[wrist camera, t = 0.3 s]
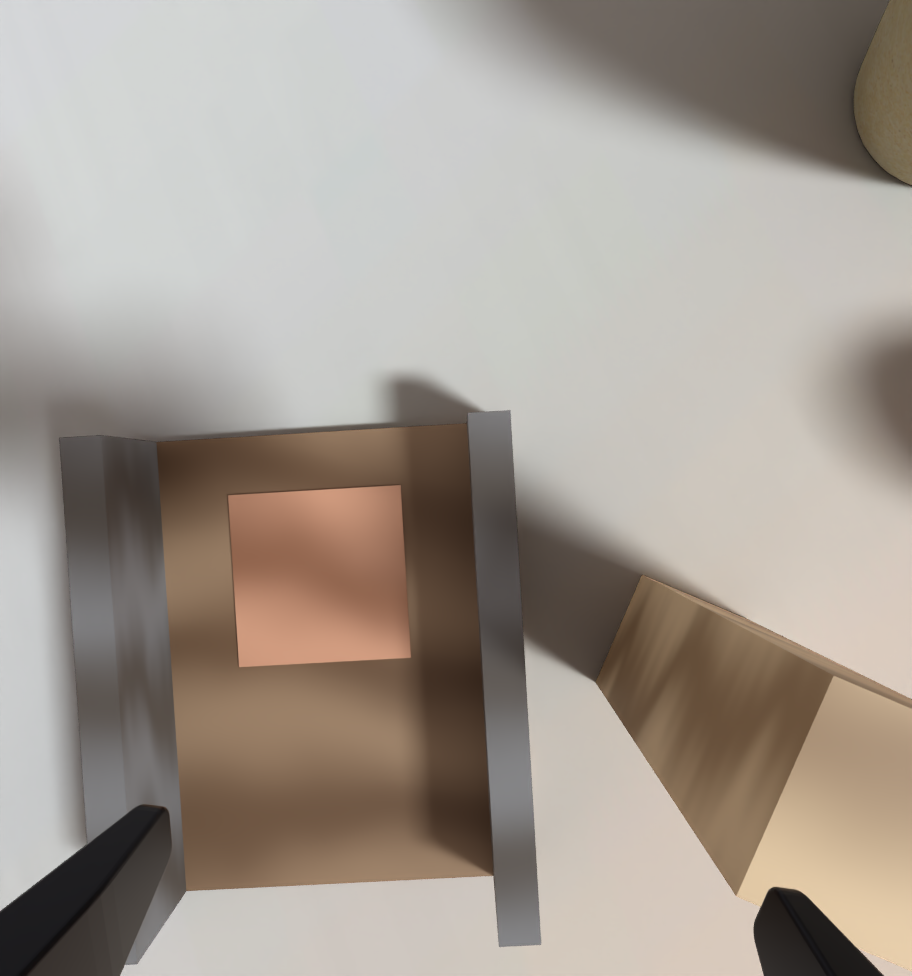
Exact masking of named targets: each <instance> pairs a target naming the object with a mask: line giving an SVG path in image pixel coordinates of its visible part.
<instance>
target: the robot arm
mask: <svg viewBox="0 0 912 976" xmlns="http://www.w3.org/2000/svg"><path fill="white" fill-rule="evenodd" d="M171 850H172V838H171V826H170V814H169V811H168V809H167V808H166V807H164V806H157V805H149V804H141V805H139V806H137V807H135V808H133V809H132V810H131V811H129V812H128V813H127V814H125V815H124V816H123V817H121V818H120V819H119V820H118V821H116V822H115V823H114V824H112V825H111V826H110V827H109V828H107V829H106V830H105V831H103V832H102V833H101V834H99V835H98V836H97V837H96V838H94V839H93V840H92V841H90V842H89V843H88V844H87V845H85V846H84V847H83V848H81V849H80V850H79V851H77V852H76V853H75V854H74V855H72V856H71V857H70V858H68V859H67V860H66V861H64V862H63V863H62V864H61V865H59V866H58V867H57V868H55V869H54V870H53V871H52V872H50V873H49V874H48V875H46V876H45V877H44V878H42V879H41V880H40V881H39V882H37V883H36V884H35V885H33V886H32V887H31V888H29V889H28V890H27V891H26V892H24V893H23V894H22V895H20V896H19V897H18V898H17V899H15V900H14V901H13V902H11V903H10V904H9V905H7V906H6V907H5V908H4V909H2V910H1V911H0V976H120V974H121V972H122V970H123V968H124V965H125V963H126V961H127V958H128V956H129V954H130V951H131V949H132V947H133V944H134V942H135V940H136V937H137V935H138V933H139V930H140V928H141V926H142V923H143V921H144V918H145V916H146V914H147V911H148V909H149V907H150V904H151V902H152V900H153V897H154V895H155V893H156V890H157V888H158V886H159V883H160V881H161V879H162V876H163V874H164V872H165V869H166V867H167V864H168V862H169V859H170V855H171ZM754 940H755V944H756V948H757V952H758V955H759V959H760V963H761V967H762V971H763V974H764V976H884V975H883V974H882V973H881V972H880V971H879V970H878V969H877V968H876V967H875V966H874V965H873V964H872V963H871V962H870V961H869V960H868V959H867V958H866V957H865V956H864V955H863V954H862V953H861V952H860V951H859V949H858V948H857V947H856V946H855V945H854V944H853V943H852V942H851V941H850V940H849V939H848V938H847V937H846V936H845V935H844V934H843V933H842V932H841V931H840V930H839V929H838V928H837V927H836V926H835V925H834V924H833V923H832V921H831V920H830V919H829V918H828V917H827V916H826V915H825V914H824V913H823V912H822V911H821V910H820V909H819V908H818V907H817V906H816V905H815V904H814V903H813V902H812V901H811V900H810V899H809V898H808V897H807V896H806V895H805V894H804V893H802V892H801V891H799V890H796V889H790V888H782V887H772V888H770V889H769V890H768V892H767V894H766V896H765V898H764V901H763V903H762V905H761V907H760V910H759V912H758V914H757V917H756V919H755V922H754Z"/></svg>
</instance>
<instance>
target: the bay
mask: <svg viewBox="0 0 912 976" xmlns="http://www.w3.org/2000/svg"><path fill="white" fill-rule="evenodd" d="M59 442H60V456H61V471H62V485H63V500H64V514H65V529H66V543H67V558H68V572H69V587H70V601H71V616H72V630H73V644H74V659H75V673H76V688H77V702H78V717H79V731H80V746H81V760H82V775H83V789H84V804H85V818H86V833H87V844H88V843H89V842H90V841H92V840H93V839H94V838H96V837H97V836H98V835H99V834H101V833H102V832H103V831H105V830H106V829H107V828H109V827H110V826H111V825H112V824H114V823H115V822H116V821H118V820H119V819H120V818H121V817H123V816H124V815H125V814H127V813H128V812H129V811H131V810H132V809H133V808H135V807H137V806H139V805H141V804H149V805H157V806H164V807H166V808H167V809H168V811H169V814H170V826H171V838H172V850H171V855H170V859H169V862H168V864H167V867H166V869H165V872H164V874H163V876H162V879H161V881H160V883H159V886H158V888H157V890H156V893H155V895H154V897H153V900H152V902H151V904H150V907H149V909H148V911H147V914H146V916H145V918H144V921H143V923H142V926H141V928H140V930H139V933H138V935H137V937H136V940H135V942H134V944H133V947H132V949H131V951H130V954H129V956H128V958H127V961H126V963H125V965H132V964H138V962H139V961H140V959H141V958H142V956H143V955H144V953H145V952H146V950H147V949H148V947H149V946H150V944H151V943H152V941H153V940H154V938H155V937H156V935H157V934H158V932H159V931H160V929H161V928H162V926H163V925H164V923H165V922H166V921H167V919H168V918H169V916H170V915H171V913H172V912H173V910H174V909H175V907H176V906H177V904H178V903H179V901H180V900H181V898H182V897H183V895H184V894H185V892H186V891H195V890H215V889H235V888H256V887H276V886H296V885H316V884H336V883H356V882H376V881H396V880H416V879H436V878H456V877H476V876H494V889H495V902H496V915H497V928H498V941H499V947H506V946H526V945H541V934H540V916H539V899H538V882H537V864H536V847H535V830H534V812H533V795H532V778H531V760H530V743H529V726H528V708H527V691H526V674H525V656H524V639H523V622H522V604H521V587H520V570H519V552H518V535H517V518H516V501H515V483H514V466H513V449H512V431H511V414H510V410H507V411H490V412H474V413H468V414H467V423H463V424H446V425H430V426H413V427H397V428H380V429H364V430H347V431H331V432H314V433H298V434H281V435H265V436H248V437H231V438H215V439H198V440H182V441H165V442H152V441H144V440H136V439H128V438H120V437H112V436H104V435H96V436H79V437H63V438H59Z"/></svg>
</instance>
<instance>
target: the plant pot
mask: <svg viewBox="0 0 912 976" xmlns="http://www.w3.org/2000/svg"><path fill="white" fill-rule="evenodd" d="M854 115H855V121H856V125H857V130H858V132H859V135H860V137H861V140H862V142H863V144H864V146H865V147H866V149H867V150H868V152H869V153H870V155H871V156H872V157H873V159H874V160H875V161H876V162H877V163H878V164H879V165H880V166H881V167H882V168H883V169H884V170H886V171H887V172H888V173H889V174H891V175H893V176H894V177H896V178H898V179H899V180H901V181H903V182H905V183H907V184H910V185H912V0H890V1H889V3H888V6H887V8H886V10H885V12H884V14H883V16H882V19H881V21H880V23H879V26H878V28H877V30H876V32H875V35H874V37H873V39H872V42H871V44H870V46H869V49H868V51H867V53H866V56H865V58H864V60H863V63H862V65H861V68H860V71H859V73H858V76H857V79H856V84H855V90H854Z"/></svg>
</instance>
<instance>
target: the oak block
mask: <svg viewBox="0 0 912 976" xmlns="http://www.w3.org/2000/svg"><path fill="white" fill-rule="evenodd" d="M596 684H597V685H598V687H599V688H600V690H601V691H602V693H603V694H604V696H605V697H606V699H607V700H608V702H609V703H610V705H611V706H612V708H613V709H614V711H615V713H616V714H617V716H618V717H619V719H620V720H621V722H622V723H623V725H624V726H625V728H626V729H627V731H628V732H629V734H630V735H631V737H632V738H633V740H634V741H635V743H636V744H637V746H638V748H639V749H640V751H641V752H642V754H643V755H644V757H645V758H646V760H647V761H648V763H649V764H650V766H651V767H652V769H653V770H654V772H655V773H656V775H657V776H658V778H659V779H660V781H661V783H662V784H663V786H664V787H665V789H666V790H667V792H668V793H669V795H670V796H671V798H672V799H673V801H674V802H675V804H676V805H677V807H678V808H679V810H680V811H681V813H682V814H683V816H684V817H685V819H686V821H687V822H688V824H689V825H690V827H691V828H692V830H693V831H694V833H695V834H696V836H697V837H698V839H699V840H700V842H701V843H702V845H703V846H704V848H705V849H706V851H707V852H708V854H709V856H710V857H711V859H712V860H713V862H714V863H715V865H716V866H717V868H718V869H719V871H720V872H721V874H722V875H723V877H724V878H725V880H726V881H727V883H728V884H729V886H730V887H731V889H732V891H733V892H734V894H735V895H736V896H737V897H739V898H741V899H744V900H746V901H748V902H751V903H753V904H755V905H758V906H760V907H761V905H762V903H763V901H764V898H765V896H766V894H767V892H768V890H769V889H770V888H772V887H782V888H790V889H796V890H799V891H801V892H802V893H804V894H805V895H806V896H807V897H808V898H809V899H810V900H811V901H812V902H813V903H814V904H815V905H816V906H817V907H818V908H819V909H820V910H821V911H822V912H823V913H824V914H825V915H826V916H827V917H828V918H829V919H830V920H831V921H832V923H833V924H834V925H835V926H836V927H837V928H838V929H839V930H840V931H841V932H842V933H843V934H844V935H845V936H846V937H847V938H848V939H849V940H850V941H851V942H852V943H853V944H854V945H855V946H856V947H857V948H858V949H861V950H863V951H865V952H868V953H870V954H872V955H875V956H877V957H879V958H882V959H884V960H886V961H889V962H891V963H893V964H896V965H898V966H900V967H903V968H905V969H907V970H910V971H912V699H910V698H908V697H906V696H904V695H902V694H900V693H898V692H896V691H893V690H891V689H889V688H887V687H885V686H883V685H881V684H879V683H877V682H875V681H873V680H871V679H869V678H867V677H865V676H863V675H861V674H859V673H857V672H855V671H853V670H850V669H848V668H846V667H844V666H842V665H840V664H838V663H836V662H834V661H832V660H830V659H828V658H826V657H824V656H822V655H820V654H818V653H816V652H814V651H812V650H810V649H807V648H805V647H803V646H801V645H799V644H797V643H795V642H793V641H791V640H789V639H787V638H785V637H783V636H781V635H779V634H777V633H775V632H773V631H771V630H769V629H767V628H764V627H762V626H760V625H758V624H756V623H754V622H752V621H750V620H748V619H745V618H743V617H741V616H738V615H736V614H734V613H731V612H729V611H727V610H724V609H722V608H719V607H717V606H715V605H712V604H710V603H708V602H705V601H703V600H701V599H698V598H696V597H694V596H691V595H689V594H687V593H684V592H682V591H679V590H677V589H675V588H672V587H670V586H668V585H665V584H663V583H661V582H658V581H656V580H654V579H651V578H649V577H647V576H644V575H642V576H641V578H640V580H639V583H638V585H637V587H636V590H635V592H634V594H633V597H632V599H631V601H630V604H629V606H628V608H627V610H626V613H625V615H624V617H623V620H622V622H621V624H620V627H619V629H618V631H617V634H616V636H615V638H614V641H613V643H612V645H611V647H610V650H609V652H608V654H607V657H606V659H605V661H604V664H603V666H602V668H601V671H600V673H599V675H598V677H597V680H596Z"/></svg>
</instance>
